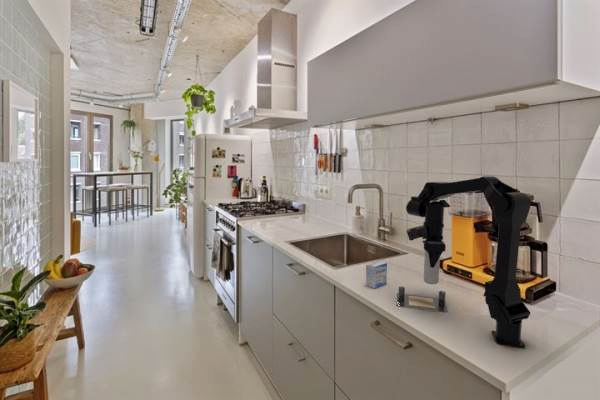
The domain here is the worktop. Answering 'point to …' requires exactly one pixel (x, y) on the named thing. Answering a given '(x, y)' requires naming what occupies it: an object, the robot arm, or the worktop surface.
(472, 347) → the worktop surface
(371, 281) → the medicine box
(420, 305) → the post gate
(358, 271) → the worktop surface
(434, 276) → the beverage can
